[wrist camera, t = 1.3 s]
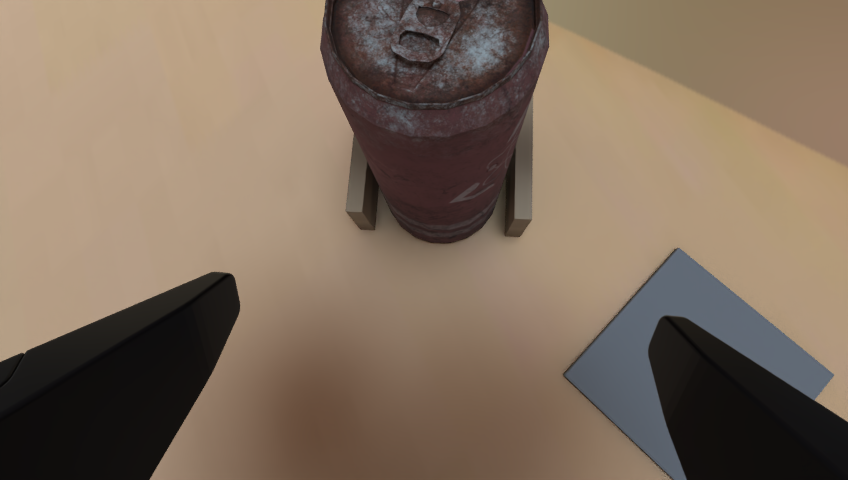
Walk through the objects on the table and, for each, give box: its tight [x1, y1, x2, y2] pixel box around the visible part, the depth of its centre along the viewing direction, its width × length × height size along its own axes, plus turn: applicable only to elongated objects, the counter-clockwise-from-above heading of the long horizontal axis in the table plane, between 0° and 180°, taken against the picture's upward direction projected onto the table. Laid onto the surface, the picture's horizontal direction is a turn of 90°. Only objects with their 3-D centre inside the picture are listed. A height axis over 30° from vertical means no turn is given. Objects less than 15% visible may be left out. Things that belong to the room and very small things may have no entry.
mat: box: [563, 248, 834, 480], centre depth 21 cm, size 9×9×1 cm
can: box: [320, 0, 549, 243], centre depth 17 cm, size 6×6×14 cm
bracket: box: [346, 95, 533, 237], centre depth 23 cm, size 7×9×4 cm
